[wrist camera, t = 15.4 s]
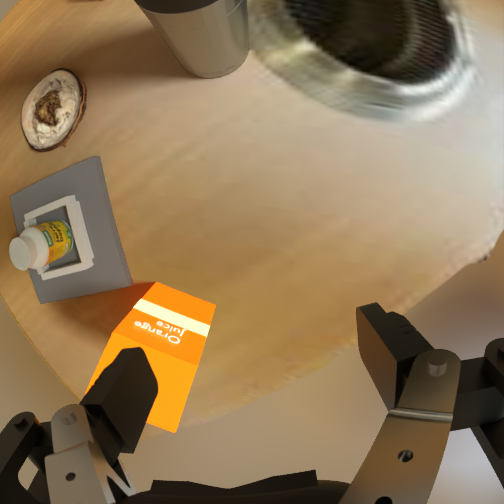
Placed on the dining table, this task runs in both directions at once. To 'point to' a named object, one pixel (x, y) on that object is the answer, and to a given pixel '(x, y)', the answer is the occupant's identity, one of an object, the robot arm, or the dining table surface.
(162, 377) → the orange juice
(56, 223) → the supplement bottle
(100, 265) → the socket board
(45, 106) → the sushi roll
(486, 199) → the dining table surface
